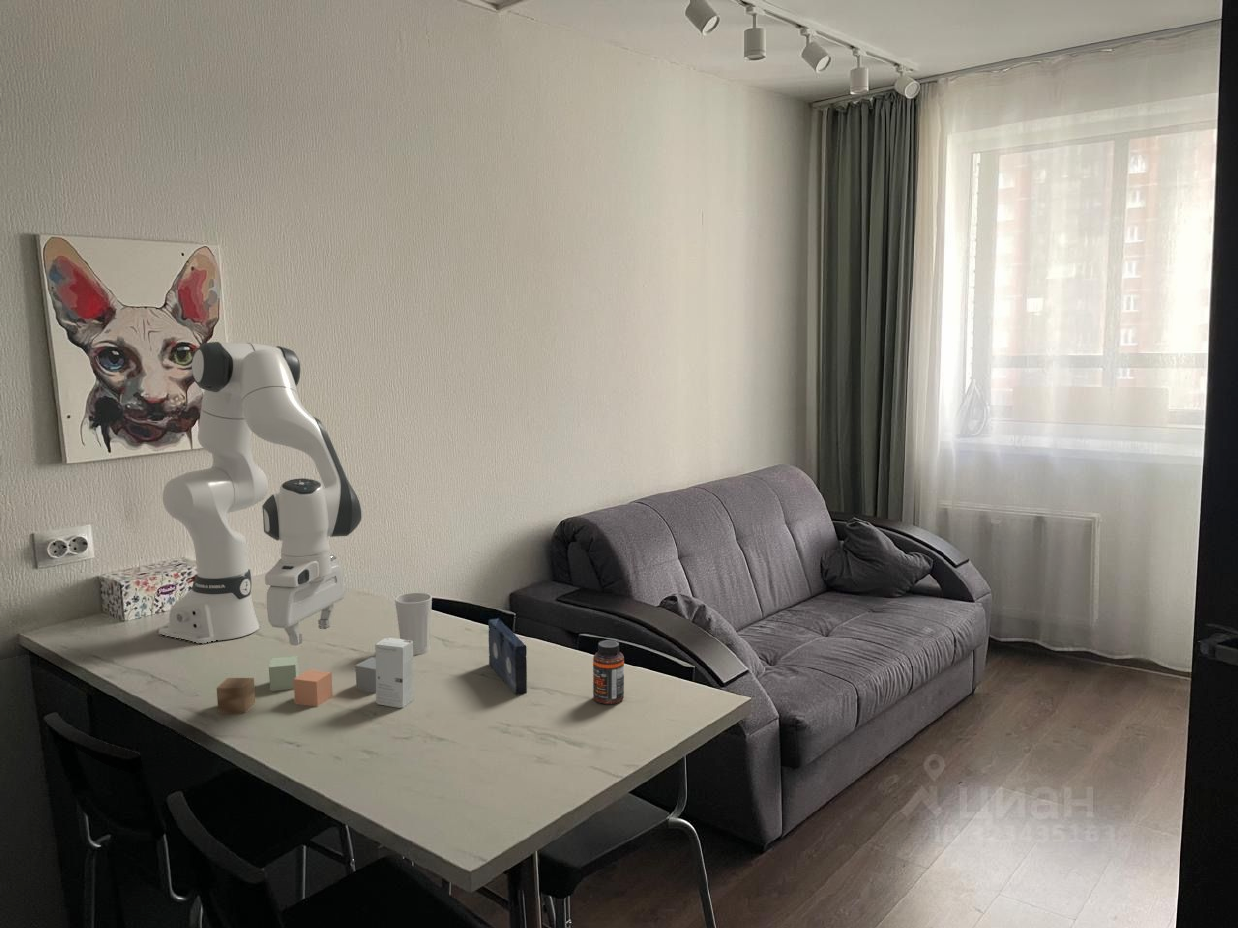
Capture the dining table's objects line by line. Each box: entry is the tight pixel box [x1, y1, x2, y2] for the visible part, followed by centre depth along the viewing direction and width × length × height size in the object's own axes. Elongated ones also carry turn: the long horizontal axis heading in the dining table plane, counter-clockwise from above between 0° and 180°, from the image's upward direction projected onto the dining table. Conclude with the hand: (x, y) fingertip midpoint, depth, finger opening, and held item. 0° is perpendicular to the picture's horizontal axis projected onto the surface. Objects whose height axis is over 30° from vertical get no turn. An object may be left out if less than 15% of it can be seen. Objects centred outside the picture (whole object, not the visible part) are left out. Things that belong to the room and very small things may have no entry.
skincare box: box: [374, 637, 414, 709], centre depth 180 cm, size 6×4×12 cm
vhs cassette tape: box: [488, 617, 528, 696], centre depth 192 cm, size 18×3×10 cm, turn 23°
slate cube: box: [355, 656, 376, 694], centre depth 188 cm, size 5×5×5 cm
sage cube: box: [268, 655, 299, 692], centre depth 189 cm, size 5×5×5 cm
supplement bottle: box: [592, 639, 625, 705], centre depth 181 cm, size 6×6×11 cm
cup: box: [394, 592, 433, 656], centre depth 208 cm, size 8×8×12 cm
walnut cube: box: [216, 677, 256, 714], centre depth 179 cm, size 5×5×5 cm
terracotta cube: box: [293, 669, 333, 707], centre depth 182 cm, size 5×5×5 cm
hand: (310, 635), depth 180 cm, fingers open, 8 cm apart
